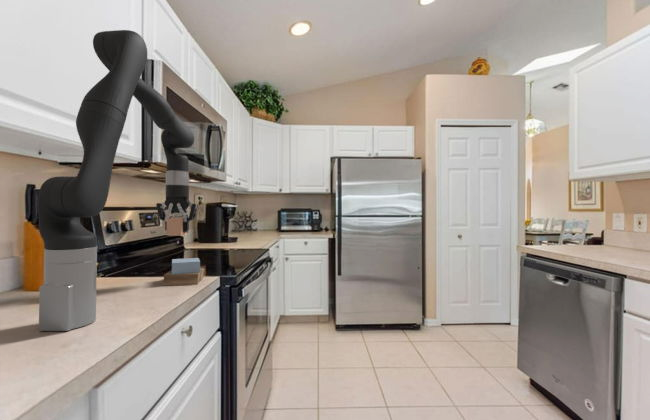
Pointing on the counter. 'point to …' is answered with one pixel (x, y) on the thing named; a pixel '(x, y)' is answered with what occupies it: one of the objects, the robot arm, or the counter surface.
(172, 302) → the counter surface
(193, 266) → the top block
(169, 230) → the stack block
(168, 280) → the base block
